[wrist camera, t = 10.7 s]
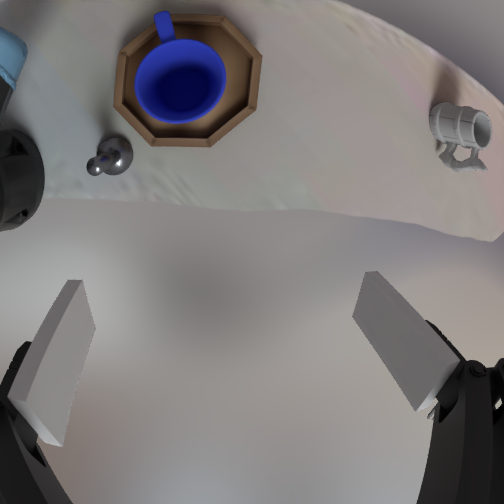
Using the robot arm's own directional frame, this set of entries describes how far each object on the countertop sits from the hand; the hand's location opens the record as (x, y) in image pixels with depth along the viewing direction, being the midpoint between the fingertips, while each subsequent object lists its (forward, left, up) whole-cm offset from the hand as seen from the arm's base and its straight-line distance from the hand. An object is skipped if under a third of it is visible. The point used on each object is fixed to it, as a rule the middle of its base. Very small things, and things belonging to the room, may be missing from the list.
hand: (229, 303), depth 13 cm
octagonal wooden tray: (-4, +13, -28) cm, 31 cm away
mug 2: (+38, +13, -28) cm, 49 cm away
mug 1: (-4, +13, -26) cm, 30 cm away
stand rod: (-13, +3, -28) cm, 31 cm away
